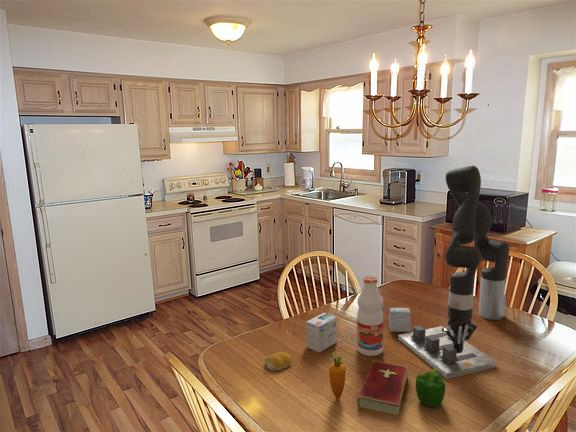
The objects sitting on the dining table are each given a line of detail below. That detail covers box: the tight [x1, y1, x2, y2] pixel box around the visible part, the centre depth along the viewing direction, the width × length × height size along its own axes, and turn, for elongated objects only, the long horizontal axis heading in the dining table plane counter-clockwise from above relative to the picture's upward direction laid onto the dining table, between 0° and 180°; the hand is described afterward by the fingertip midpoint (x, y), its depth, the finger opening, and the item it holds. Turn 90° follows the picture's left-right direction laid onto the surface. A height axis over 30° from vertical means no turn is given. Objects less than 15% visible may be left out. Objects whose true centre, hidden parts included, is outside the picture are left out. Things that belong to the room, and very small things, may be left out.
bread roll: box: [264, 351, 292, 371], centre depth 144 cm, size 8×9×4 cm
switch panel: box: [397, 325, 497, 380], centre depth 148 cm, size 20×28×2 cm
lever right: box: [411, 325, 426, 342], centre depth 153 cm, size 4×4×4 cm
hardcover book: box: [357, 360, 410, 416], centre depth 127 cm, size 12×21×4 cm, turn 157°
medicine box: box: [388, 307, 412, 333], centre depth 166 cm, size 8×4×9 cm, turn 84°
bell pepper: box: [415, 368, 446, 409], centre depth 120 cm, size 8×8×10 cm
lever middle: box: [424, 335, 441, 352], centre depth 146 cm, size 4×4×4 cm
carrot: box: [328, 352, 347, 400], centre depth 123 cm, size 5×5×15 cm
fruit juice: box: [356, 275, 384, 357], centre depth 149 cm, size 9×9×28 cm
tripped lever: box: [440, 345, 459, 364], centre depth 139 cm, size 4×4×4 cm
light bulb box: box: [305, 312, 338, 353], centre depth 156 cm, size 11×7×11 cm, turn 135°
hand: (458, 352), depth 139 cm, fingers closed
